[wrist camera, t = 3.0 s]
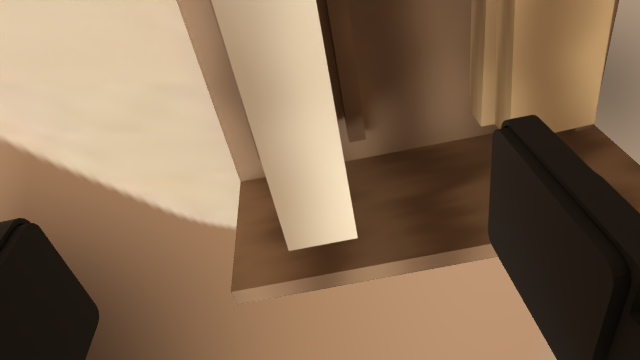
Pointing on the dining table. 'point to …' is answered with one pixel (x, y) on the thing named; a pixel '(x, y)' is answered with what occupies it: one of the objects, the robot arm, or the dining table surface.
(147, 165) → the dining table surface
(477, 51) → the offcut lower
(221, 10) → the birch panel
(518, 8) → the offcut upper
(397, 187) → the rack
